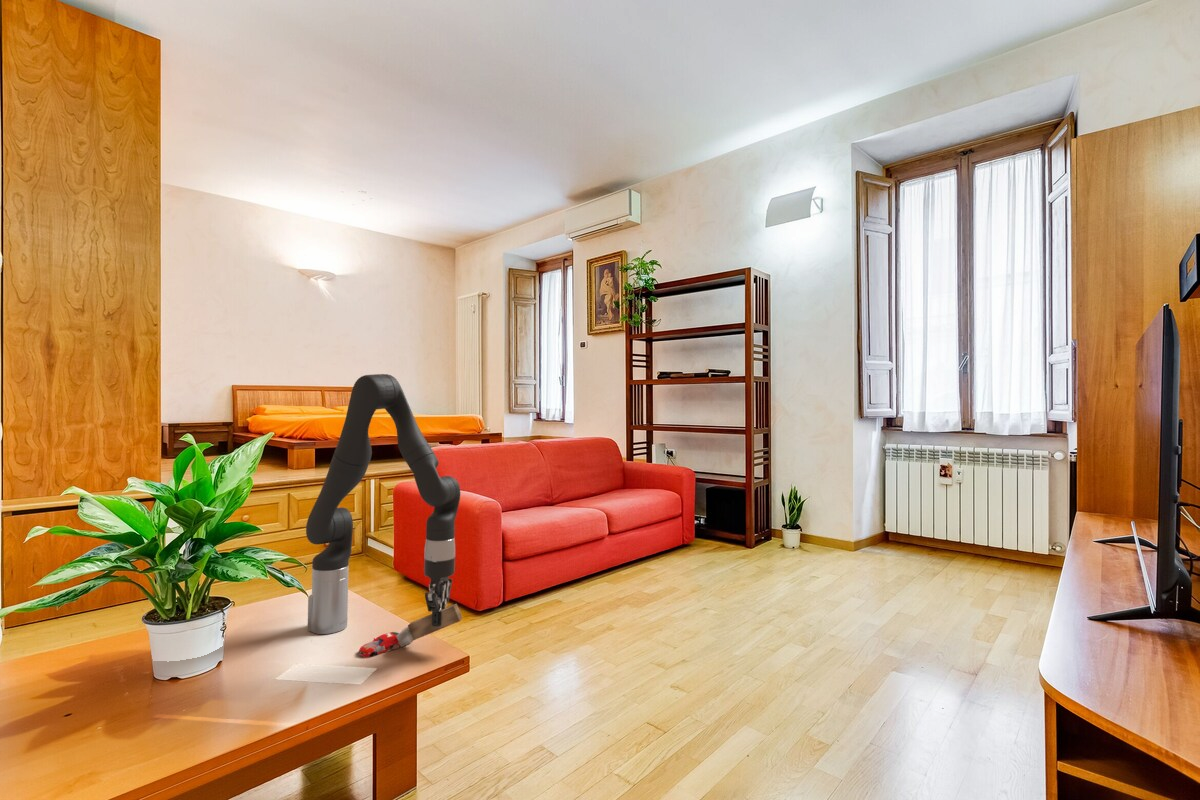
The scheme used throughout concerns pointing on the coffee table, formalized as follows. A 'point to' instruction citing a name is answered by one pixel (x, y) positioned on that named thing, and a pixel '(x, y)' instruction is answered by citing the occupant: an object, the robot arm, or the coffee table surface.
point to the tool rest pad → (327, 674)
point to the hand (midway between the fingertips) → (438, 623)
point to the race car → (380, 645)
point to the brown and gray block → (428, 625)
